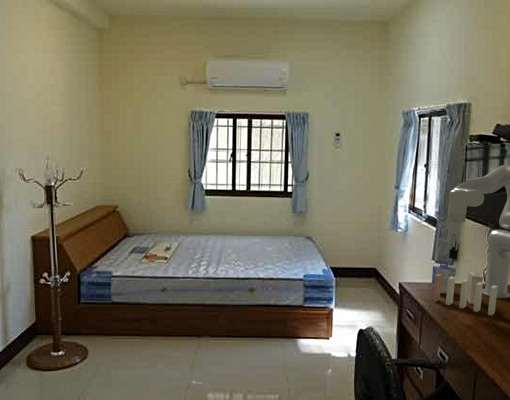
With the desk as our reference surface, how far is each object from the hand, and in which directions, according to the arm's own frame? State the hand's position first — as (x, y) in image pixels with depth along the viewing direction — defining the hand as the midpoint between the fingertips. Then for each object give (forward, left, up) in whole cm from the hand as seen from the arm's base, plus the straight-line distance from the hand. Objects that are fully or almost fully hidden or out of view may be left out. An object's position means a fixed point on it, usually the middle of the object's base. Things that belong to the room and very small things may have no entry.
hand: (452, 258), depth 231 cm
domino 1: (0, -6, -21) cm, 22 cm away
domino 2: (0, 0, -21) cm, 21 cm away
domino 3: (0, +6, -21) cm, 22 cm away
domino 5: (0, +18, -21) cm, 28 cm away
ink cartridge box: (-16, -9, -21) cm, 28 cm away
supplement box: (-11, +7, -21) cm, 25 cm away
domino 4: (0, +12, -21) cm, 24 cm away
